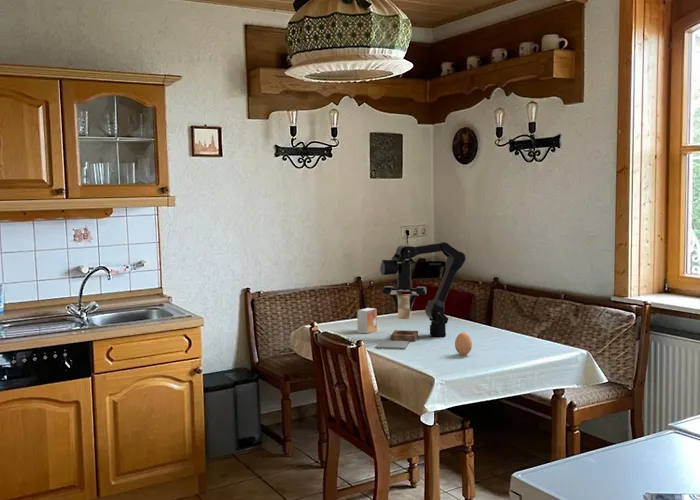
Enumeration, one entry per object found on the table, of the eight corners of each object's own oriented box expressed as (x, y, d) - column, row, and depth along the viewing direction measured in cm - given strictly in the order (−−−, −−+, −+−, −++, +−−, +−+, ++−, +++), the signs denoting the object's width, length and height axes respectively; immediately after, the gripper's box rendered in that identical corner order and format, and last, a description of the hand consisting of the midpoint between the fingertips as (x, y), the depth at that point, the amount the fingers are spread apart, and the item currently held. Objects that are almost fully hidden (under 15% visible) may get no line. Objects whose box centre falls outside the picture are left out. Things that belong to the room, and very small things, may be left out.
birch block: (411, 316, 315) (410, 294, 314) (409, 319, 311) (409, 296, 310) (399, 316, 316) (399, 294, 316) (398, 318, 312) (397, 295, 311)
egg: (451, 355, 282) (451, 332, 282) (461, 352, 287) (461, 329, 286) (465, 357, 278) (465, 334, 277) (475, 355, 282) (475, 332, 281)
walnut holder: (418, 336, 318) (418, 330, 318) (415, 341, 308) (415, 335, 308) (394, 335, 321) (394, 330, 320) (391, 340, 310) (391, 334, 310)
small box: (367, 334, 325) (366, 311, 324) (357, 332, 329) (357, 309, 328) (377, 331, 332) (377, 308, 331) (367, 329, 335) (367, 307, 334)
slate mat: (408, 343, 305) (408, 341, 305) (405, 349, 293) (405, 347, 293) (381, 342, 307) (381, 340, 307) (376, 348, 296) (376, 346, 296)
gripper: (427, 272, 318) (427, 307, 319) (386, 271, 322) (386, 306, 323) (425, 275, 307) (425, 311, 308) (382, 274, 311) (382, 310, 312)
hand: (404, 309), depth 313 cm, fingers closed on birch block, 5 cm apart
